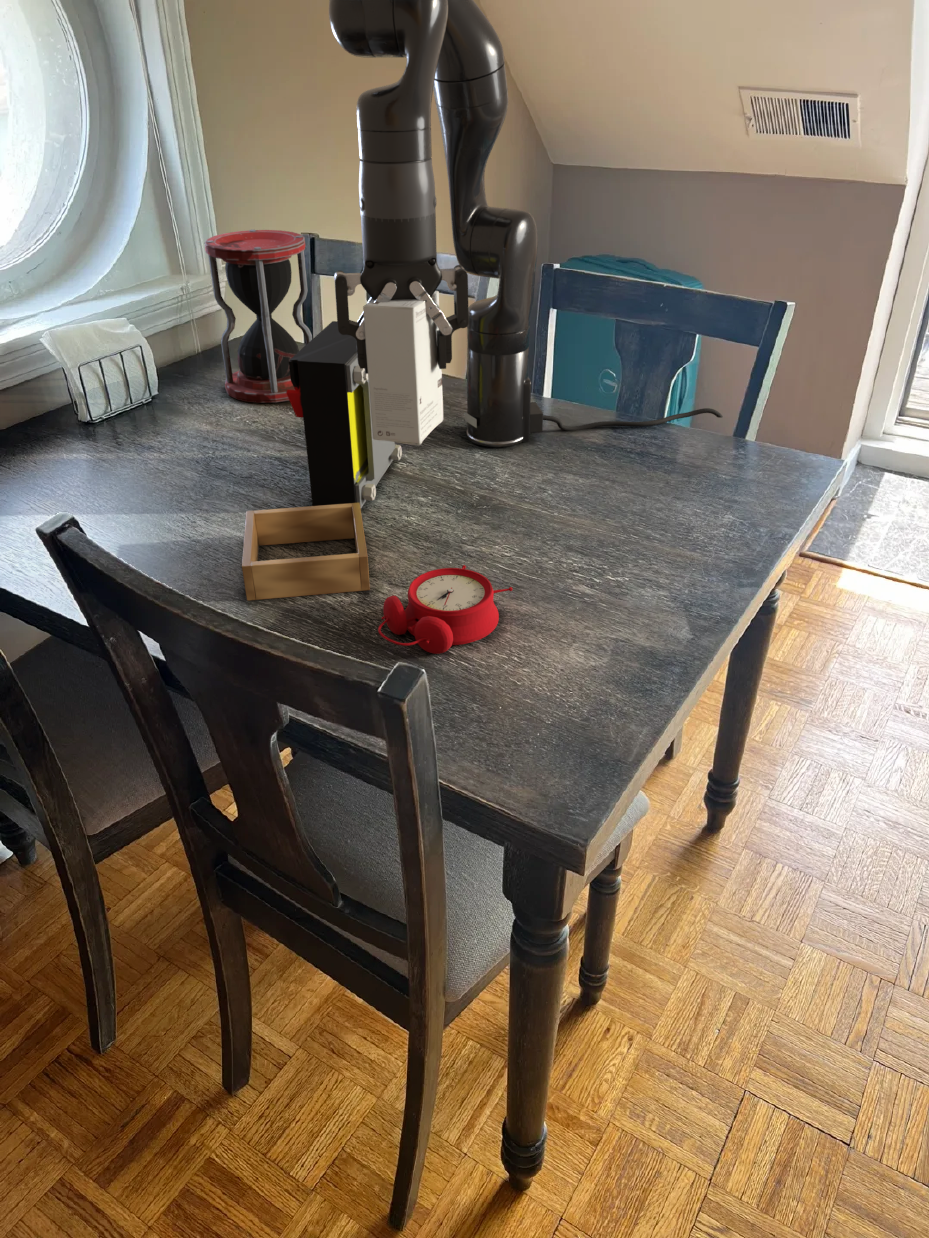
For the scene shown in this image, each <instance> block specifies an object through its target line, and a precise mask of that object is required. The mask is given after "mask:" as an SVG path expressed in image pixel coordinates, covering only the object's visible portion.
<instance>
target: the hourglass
mask: <svg viewBox="0 0 929 1238" xmlns="http://www.w3.org/2000/svg"><path fill="white" fill-rule="evenodd" d="M203 244H204V250H205V253H206V254H207V256H208V263H209V270H210V277H211V285H212V291H213V298H214V299H215V301H216V303H217V305H218V306H219V307H220V308H221V309H222V310H223V311H224V314H225V316H226V327H225V330H224V331H223V333H222V334H221V339H220V345H221V352H222V360H223V366H224V373H225V381H224V386H225V387H224V388H225V392H226V393H227V395H228V396H229V397H231V398H233V399H236V400H238V401H242V402H247V403H256V404H257V403H258V404H267V403H268V404H272V403H273V404H274V403H282V402H290V400H289V398H288V396H287V393H286V392H287V390H295V388H294V386H293V384H292V382H291V377H290V368H289V361H290V359H291V358H292V357H293V356H294V355H296V354H297V353H298V352H299V351H300V350H299V345H298V343H297V342H296V340H295V339H294V338H293V336H292V335H291V334H290V333H289V332H288V331H287V330H286V329H285V328H284V327H283V326H282V325H280V324H279V323H278V322H277V321H276V320H275V319H274V318H273V315H272V314H273V313H274V312H275V310H276V309H277V308H278V307H279V305H280V304H281V303H282V302H283V300H284V299H285V298H286V296H287V294H288V293H289V290H290V287H291V285H292V273H293V272H292V265H291V261H290V259H291V258H292V256H295V255H296V256H297V265H298V267H297V268H298V277H299V288H300V291H299V294H298V298H297V300H296V301H295V302H294V303H293V306H292V313H291V315H292V318H293V321H294V324H295V325H296V326H297V327H298V328H299V329H300V330H301V332H302V333H303V335H304V340H305V346H306V345H307V344H308V343H309V342H310V341H311V340H312V339H313V335H312V332H311V330H310V328H309V327H308V326H307V325H306V324H305V323H304V321H303V318H302V314H301V313H302V305H303V303H304V302H305V300H306V299H307V295H308V292H309V291H308V280H307V279H308V278H307V269H306V259H305V250H306V240H305V236H304V235H303V234H301V233H298V232H294V231H286V230H280V229H279V230H277V229H249V230H237V231H230V232H224V233H220V234H216V235H213V236H211V237H209V238H206V240H205V241H204V243H203ZM217 259H218V260H222V261H223V262H225V266H224V269H225V270H224V271H225V277H226V281H227V285H228V287H229V288H230V290H231V292H232V293H233V295H234V296H235V297H236V298H237V299H238V300H239V301H240V303H242V304H243V305H244V306H245V307H247V309H249V310H250V311H251V312H252V313H254V314H255V317H256V319H255V320H254V322H253V323H252V324H251V325H250V327H249V328H248V329H247V330H246V332H245V333H244V335H243V336H242V338H241V339H240V342H239V345H238V348H237V365H238V368H239V370H237V371H234V372H233V370H232V369H233V368H232V360H231V355H230V348H229V340H230V336H231V334H232V333H233V331H234V330H235V327H236V321H237V320H236V319H237V318H236V316H235V313H234V310H233V308H232V307H231V306H230V305H228V304H227V303H226V301H225V300H224V298H223V296H222V291H221V285H220V284H221V283H220V277H219V271H218V270H219V269H218V263H217Z"/></svg>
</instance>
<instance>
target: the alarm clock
mask: <svg viewBox="0 0 929 1238" xmlns="http://www.w3.org/2000/svg"><path fill="white" fill-rule="evenodd" d="M508 591H509V592H512V591H513V587H511V586H509V587H508V588H503V589H501V588H500V589H495V590H494V588H493V586H492V583H491V581H490V580H489V579H488V577H486V576H484V575H483V574H482V573H479V572H477V571H474V570H471V569H467V566H466V565H465V564H462V566H461V568H460V567H443V568H437V569H433V570H429V571H426V572H424V573H422V574H419V575H418V576H417V577H415V578H414V579H413V580H412V581H411V582H410V584H409V586H408V589H407V602H408V603H407V606H406V607H405V608H404V606H403V603H402V602H401V599H400V598H399V597H398V596H397V595H390V596H388V597H387V598H386V599H385V600H384V602H383V607H382V609H383V611H382V612H383V616H381V620H384V621H383V622H381V623H380V625H378V628H377V632H378V634H379V635H380V636H381V637H382V638H383V639H385V640H386V641H387V642H390V643H392V644H394V645H397V646H403V647H408V646H413V645H416V644H417V645H418V646H419V647H420V648H421V649H422V650H423V651H425V652H427V653H429V654H432V655H433V654H435V655H438V654H439V655H440V654H444V653H446V652H447V651H448V650H449V649H450V648H451V647H452V646H459V645H465V644H470V643H471V644H472V643H474V642H477V641H480V640H482V639H483V638H486V637H487V636H488V635H491V633H492V632H494V630H495V629H496V628H497V626H498V623H499V619H500V614H499V610H498V608H497V606H496V605H495V602H494V594H497V593H498V594H499V593H503V592H508ZM385 624H386V625H387V628H388V629H389V630H390V631H391V633H393V634H394V635H398V636H401V635H405V634H406V633H407V631H408V632H409V634H410V635H412V636H414V639H415V641H412V642H404V643H403V642H399V641H397V640H394V639H391V638H390V637H388V636H386V635H385V634H384V633H383V632H382V631H381V630H382V627H383V626H384V625H385Z"/></svg>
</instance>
